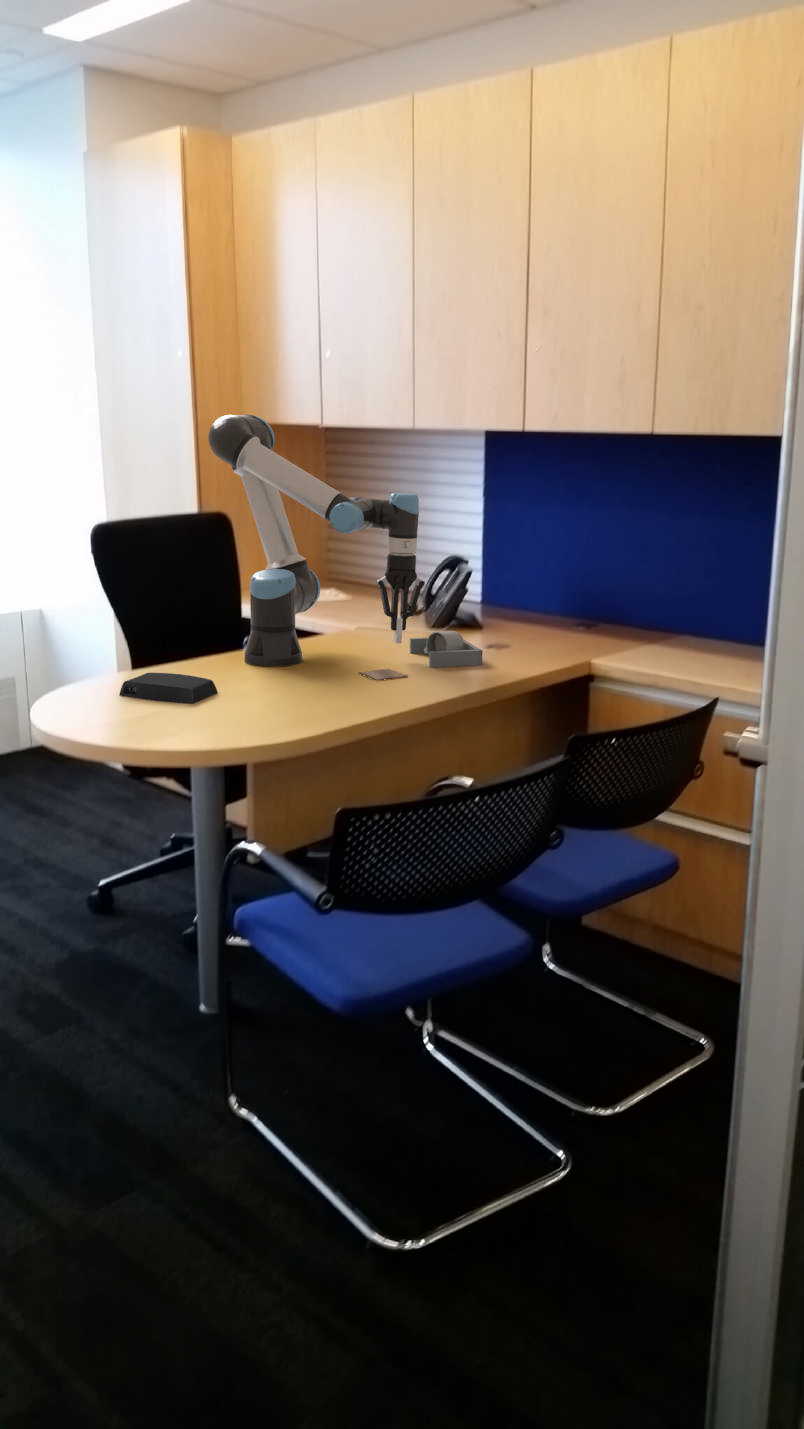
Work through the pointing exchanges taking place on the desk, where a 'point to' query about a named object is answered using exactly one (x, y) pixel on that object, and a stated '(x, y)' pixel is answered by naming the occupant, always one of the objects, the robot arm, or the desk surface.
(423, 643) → the grey c-shaped bracket
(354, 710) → the desk surface
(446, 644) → the ceramic mug
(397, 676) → the walnut coaster
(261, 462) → the robot arm
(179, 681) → the external hard drive
